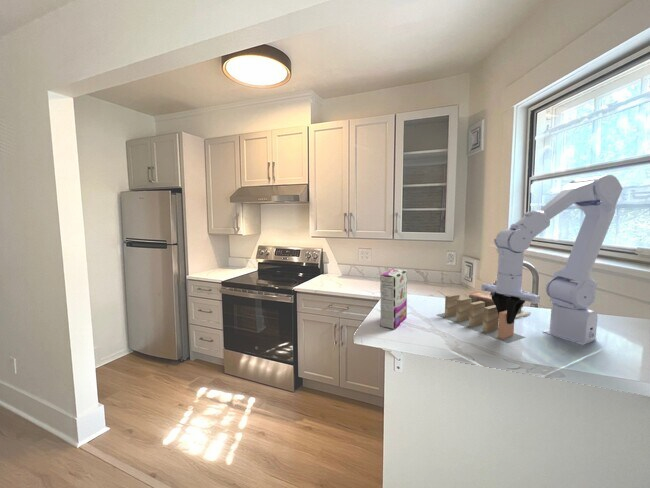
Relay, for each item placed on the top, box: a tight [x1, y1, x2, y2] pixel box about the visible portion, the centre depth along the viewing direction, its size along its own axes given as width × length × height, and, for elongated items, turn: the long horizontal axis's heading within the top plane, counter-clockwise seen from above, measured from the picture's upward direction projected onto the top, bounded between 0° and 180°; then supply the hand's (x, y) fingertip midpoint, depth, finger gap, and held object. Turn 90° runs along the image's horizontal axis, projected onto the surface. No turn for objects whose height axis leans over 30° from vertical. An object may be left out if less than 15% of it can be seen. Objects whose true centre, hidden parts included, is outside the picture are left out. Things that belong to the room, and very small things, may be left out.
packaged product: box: [468, 292, 532, 320], centre depth 103 cm, size 18×5×10 cm
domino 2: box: [456, 296, 472, 322], centre depth 92 cm, size 1×5×7 cm, turn 117°
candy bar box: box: [379, 268, 408, 330], centre depth 91 cm, size 11×5×16 cm, turn 146°
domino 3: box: [469, 301, 485, 327], centre depth 88 cm, size 1×5×7 cm, turn 117°
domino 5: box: [498, 310, 515, 339], centre depth 80 cm, size 1×5×7 cm, turn 119°
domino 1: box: [444, 293, 460, 318], centre depth 96 cm, size 1×5×7 cm, turn 117°
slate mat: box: [436, 312, 526, 344], centre depth 89 cm, size 24×8×1 cm, turn 27°
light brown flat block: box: [483, 305, 499, 333], centre depth 84 cm, size 1×5×7 cm, turn 117°
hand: (506, 321), depth 80 cm, fingers closed on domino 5, 1 cm apart
